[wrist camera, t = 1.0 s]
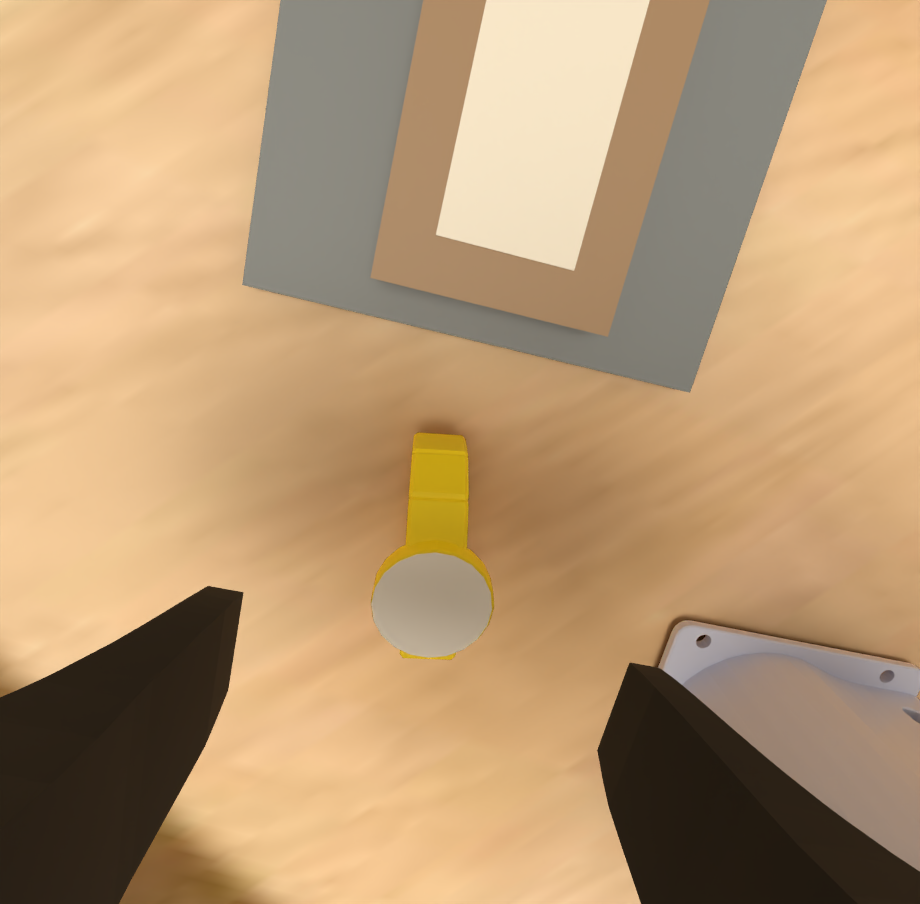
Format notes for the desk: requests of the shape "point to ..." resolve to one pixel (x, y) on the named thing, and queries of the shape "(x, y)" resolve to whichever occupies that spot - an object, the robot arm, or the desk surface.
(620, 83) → the base board
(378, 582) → the watch
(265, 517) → the desk surface
